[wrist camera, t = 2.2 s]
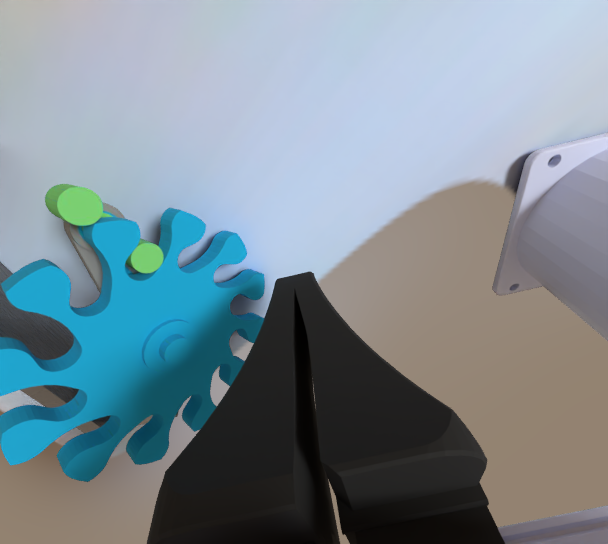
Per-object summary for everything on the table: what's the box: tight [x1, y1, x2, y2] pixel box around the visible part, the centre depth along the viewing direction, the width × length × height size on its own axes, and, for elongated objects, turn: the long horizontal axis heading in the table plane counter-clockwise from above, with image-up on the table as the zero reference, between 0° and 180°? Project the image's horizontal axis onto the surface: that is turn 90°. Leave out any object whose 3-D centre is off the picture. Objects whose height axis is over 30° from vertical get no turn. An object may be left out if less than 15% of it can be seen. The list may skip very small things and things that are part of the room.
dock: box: [0, 262, 178, 433], centre depth 13 cm, size 4×16×3 cm, turn 12°
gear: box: [0, 184, 265, 482], centre depth 12 cm, size 11×6×10 cm
